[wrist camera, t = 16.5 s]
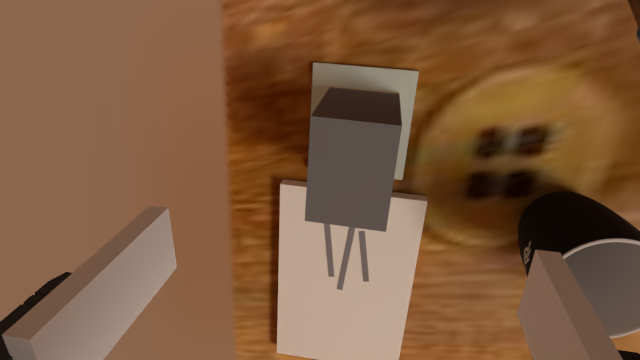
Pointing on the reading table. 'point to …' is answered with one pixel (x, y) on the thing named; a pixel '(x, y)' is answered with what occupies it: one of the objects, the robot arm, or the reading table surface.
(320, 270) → the board
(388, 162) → the block
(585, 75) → the reading table surface
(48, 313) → the robot arm
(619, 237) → the mug
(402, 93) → the pad
